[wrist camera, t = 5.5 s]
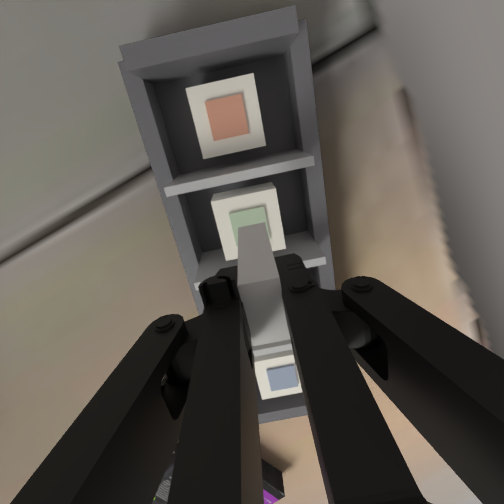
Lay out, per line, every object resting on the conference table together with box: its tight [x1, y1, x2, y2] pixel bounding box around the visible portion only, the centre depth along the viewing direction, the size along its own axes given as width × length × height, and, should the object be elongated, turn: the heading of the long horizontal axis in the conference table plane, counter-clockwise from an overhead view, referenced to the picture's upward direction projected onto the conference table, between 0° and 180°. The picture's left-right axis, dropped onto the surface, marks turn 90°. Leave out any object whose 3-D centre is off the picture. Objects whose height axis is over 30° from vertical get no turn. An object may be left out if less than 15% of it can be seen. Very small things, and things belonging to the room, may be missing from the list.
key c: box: [185, 73, 266, 159], centre depth 21 cm, size 4×4×3 cm
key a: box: [211, 182, 286, 261], centre depth 22 cm, size 4×4×3 cm
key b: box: [254, 350, 302, 400], centre depth 27 cm, size 4×4×3 cm
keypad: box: [118, 5, 335, 424], centre depth 24 cm, size 12×30×6 cm, turn 11°
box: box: [152, 443, 285, 504], centre depth 39 cm, size 14×4×20 cm
